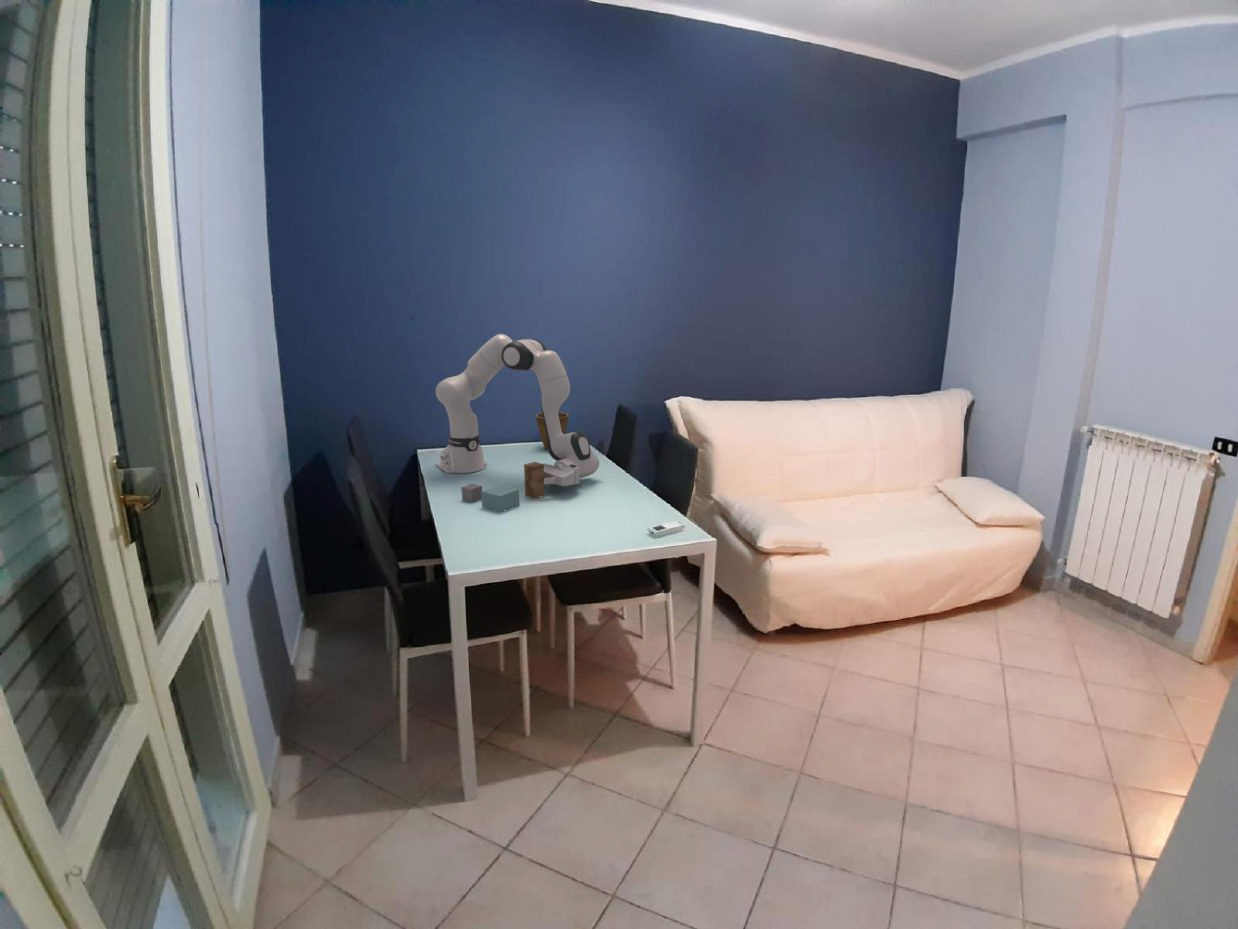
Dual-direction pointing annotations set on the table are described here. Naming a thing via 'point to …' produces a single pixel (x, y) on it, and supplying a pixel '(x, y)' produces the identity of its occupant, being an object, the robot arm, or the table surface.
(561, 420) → the plant pot
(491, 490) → the teal base block
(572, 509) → the table surface
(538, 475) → the walnut block
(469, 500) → the charcoal cube
